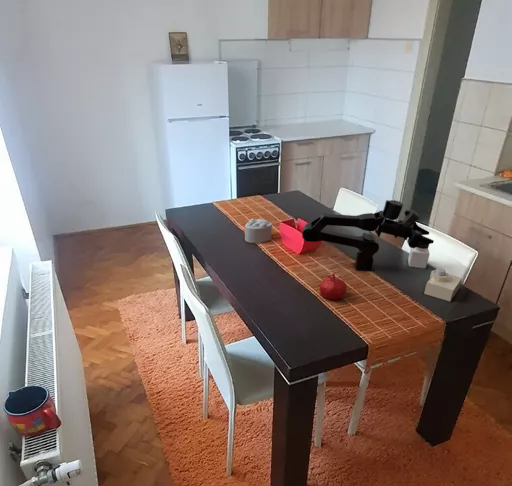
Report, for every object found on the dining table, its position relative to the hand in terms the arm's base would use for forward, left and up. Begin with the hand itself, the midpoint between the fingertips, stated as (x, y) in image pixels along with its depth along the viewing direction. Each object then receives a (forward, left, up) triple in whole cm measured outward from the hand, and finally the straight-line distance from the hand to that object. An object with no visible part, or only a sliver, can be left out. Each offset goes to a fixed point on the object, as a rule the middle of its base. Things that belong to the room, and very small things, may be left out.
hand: (431, 237), depth 190 cm
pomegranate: (-42, -23, -16) cm, 50 cm away
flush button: (+1, -15, -9) cm, 17 cm away
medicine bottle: (0, +8, -16) cm, 18 cm away
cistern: (+3, -16, -16) cm, 23 cm away
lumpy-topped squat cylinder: (-70, +31, -16) cm, 78 cm away
